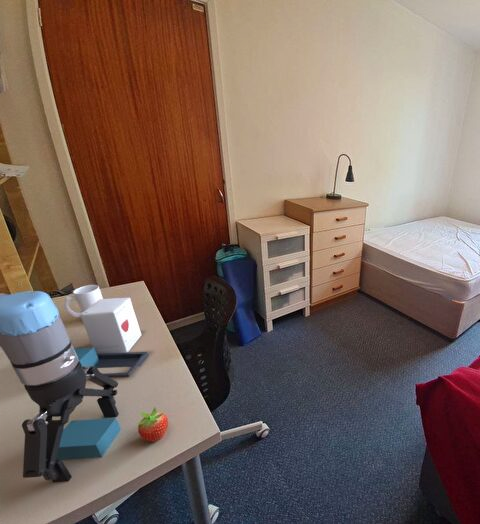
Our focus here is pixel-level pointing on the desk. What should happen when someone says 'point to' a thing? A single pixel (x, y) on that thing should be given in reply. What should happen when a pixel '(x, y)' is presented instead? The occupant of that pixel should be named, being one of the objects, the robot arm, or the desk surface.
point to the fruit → (153, 426)
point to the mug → (84, 298)
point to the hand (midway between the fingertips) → (91, 447)
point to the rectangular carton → (111, 325)
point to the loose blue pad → (87, 438)
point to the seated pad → (87, 356)
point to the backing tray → (121, 362)
